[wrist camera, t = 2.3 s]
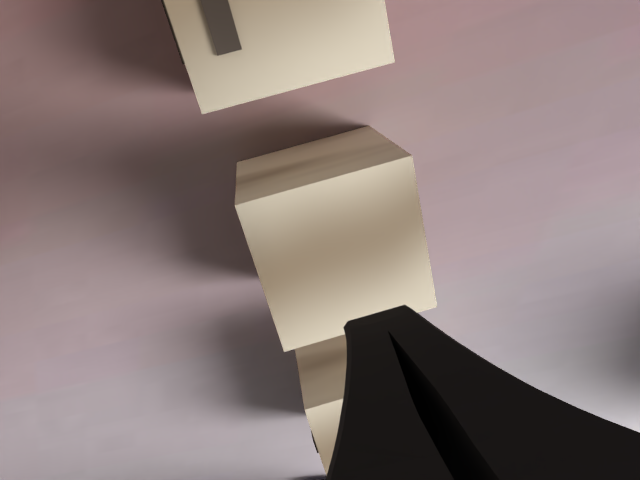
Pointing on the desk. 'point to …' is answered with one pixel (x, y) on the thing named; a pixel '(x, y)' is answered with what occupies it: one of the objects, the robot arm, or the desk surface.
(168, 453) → the desk surface
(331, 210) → the plain birch block
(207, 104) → the birch block marked 7
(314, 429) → the birch block marked 1
